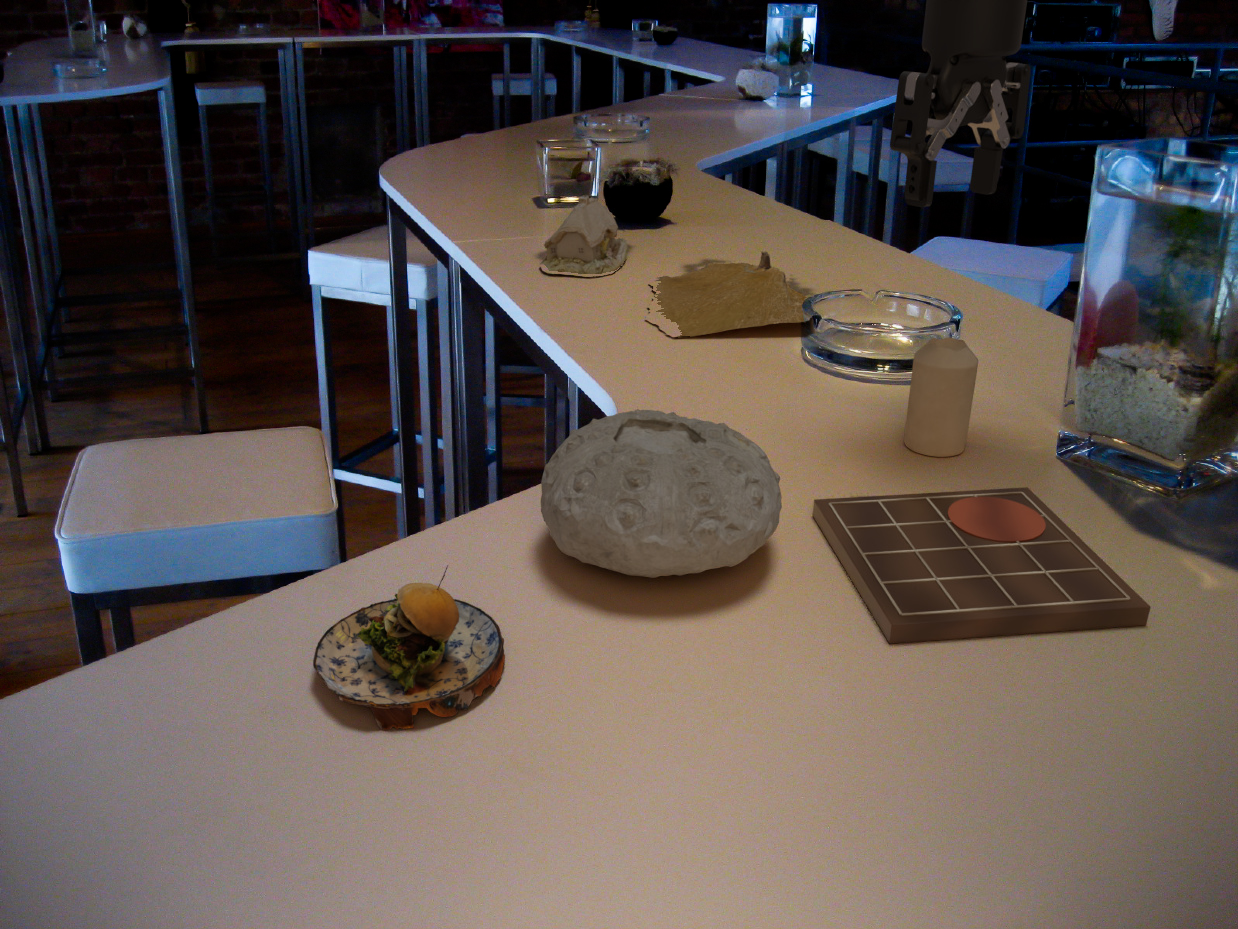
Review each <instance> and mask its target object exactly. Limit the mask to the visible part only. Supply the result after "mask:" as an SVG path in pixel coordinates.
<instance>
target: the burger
mask: <svg viewBox="0 0 1238 929" xmlns="http://www.w3.org/2000/svg"><path fill="white" fill-rule="evenodd" d="M448 568H449V565H446V567H445V571H444V572H443V575H442V577H441V579H440V582H439V583H438V585H436V584H433V583H428V582H409V583H406V584H405V585H403V586H401V588H399V589H397V593H395V594H394V597H395V598H391V599H389V600H382V601H379V602H374V603H371V604H370V605H369V606H366V607H365V606H364V607H361V608H359V609H358V610H355V611H354V612H352V613H350V614H349V615H347V616H345V617H343V618H340V620H338V621H337V622H336V623H334V624H333V625H332V626H330V627H329V628H328V629H327V630H326V631H325V632H324V634H323V635H322V636H321V638H320V639H319V641H318V642H317V646H316V647H315V650H314V654H313V655H314V656H313V661H312V666H313V668H314V670H315V671H316V672H317V674H318V675H319V676H320V678H321V679H322V681H323V683H324V684H325V686H326V688H327V689H328V690H329V691H331V692H333V693H334V694H335V695H336V696H338V697H339V701H343V702H345V703H348V704H350V705H351V704H352V705H359V706H363V707H368V708H369V709H370V710H371V711H372V714H373V718H374V720H375V722H376V723H377V725H378V727H379V729H381V730H382V731H388V730H391V729H392V728H395V729H396V730H399V729H402V730H404V729H407V730H408V729H413V728H414V715H417V713H418V712H419V709H427V710H428V711H429V712H430V713H431V714H433V715H435V716H438V717H442V718H447V717H453V716H456V715H457V714H458V711H459V710H468V708H469V707H470V705H471V703H472V701H473V700H474V699H476V698H477V697H481V696H482V694H483V692H484V690H485V689H487V688H489V686H490V687H492V688H495V687H496V686H497V683H498V681H499V680H500V679H501V678H502V674H503V669H504V666H505V665H506V664H505V663H506V654H505V649H504V644H505V639H504V638H505V637H503V636H502V631H501V627H500V626H499V624H498V623H497V622H496V621H495V619H493V617H492V616H491V615H489V614H488V613H486V611H484V610H483V609H481V608H480V607H478V606H475V605H473V604H472V603H469V602H466V601H464V600H460V599H456V598H454V597H453V596H452V595H451V594H450V593H449V592H448V591H446V590H445V589H444V588H442V587H441V585H442V584H441V583H442V582H443V580H444V578H445V576H446V573H447V569H448Z"/></svg>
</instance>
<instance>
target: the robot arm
mask: <svg viewBox="0 0 1238 929" xmlns="http://www.w3.org/2000/svg"><path fill="white" fill-rule="evenodd" d="M1027 5H1028V0H926V1H925V11H924V21H923V29H922V40H921V48H922V51H924V52H925V53H926V54H929V56H930V63H929V67H928V70H927V71H926V73H925V72H915V71H907V70H905V71H902V72H901V73H900V74H899V78H898V83H897V89H896V98H895V105H894V111H893V119H892V126H891V132H890V133H891V134H890V139H889V148H890V150H891V151H894V152H898V153H901V154H903V155H904V156H905V157H906V161H907V163H906V172H905V173H906V174H905V182H904V190H903V192H904V201H905V203H906V204H907V205H909V206H913V207H918V208H926V207H927V208H928V207H930V206H931V205H932V204H933V198H934V189H935V182H936V174H937V166H938V165H937V164H938V160H936V158H937V156H938V154H939V153H940V151H941V149H942V147H943V145H944V144H945V142H946V140H947V139H949V138H952V137H953V136H954V135H955V134H956V132H957V131H958V129H959V128H960V127H966V126H969V127H970V128H971V129H972V132H973V135H974V138H975V140H976V143H977V145H978V146H976V147H974V153H973V160H972V166H971V175H970V182H969V189H970V191H971V192H972V193H975V194H980V195H986V196H988V195H993V194H995V193H996V192H997V188H998V182H999V180H1000V172H1001V164H1002V158H1003V153H1004V152H1003V151H1004V149H1006V148H1008V146H1009V144H1010V142H1011V140H1013V139H1017V140H1018V139H1020V138H1022V136H1023V135H1024V131H1025V122H1026V114H1027V106H1028V98H1029V97H1028V96H1029V88H1030V80H1031V79H1030V78H1031V71H1032V70H1031V65H1030V64H1028V63H1027V64H1026V63H1020V62H1007V56H1012V55H1015V54H1017V53H1018V52H1019V51H1020V50H1021V47H1022V41H1023V40H1022V39H1023V32H1024V27H1025V26H1024V25H1025V20H1026V19H1025V18H1026V12H1027ZM1007 109H1011V110H1012V113H1011V122H1009V121H1008V120H1009V114H1008V111H1007ZM933 116H934V117H935V118H933ZM909 121H911V123H912V126H911V134H910V136H906V134H907V127H908V122H909ZM929 135H930V138H929V139H928V142H926V137H928V136H929Z"/></svg>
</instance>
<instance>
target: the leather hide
mask: <svg viewBox="0 0 1238 929" xmlns="http://www.w3.org/2000/svg"><path fill="white" fill-rule="evenodd" d="M760 253H761V256H760V260H759V264H758V265H756V264H751V263H749V262H739V263H737V262H729V263H718V262H715V263H714V262H712V261H711V262H709V263H706V264H705V266H704V267H701V268H700V269H698V270H692V271H690V272H686V273H682V274H681V275H678V276H669V275H663V276H660V277H657V279H656V280H655V281H661V283H658V284H659V285H657V287H656V288H657V290H656V291H660V292H661V293H659V294H656V295H658V296H657V297H655V298H657V299H658V300H657V301H661V302H658V303H657V304H658V305H661V308H664V309H661V310H658V311H656V312H664V313H662V314H661V315H666V316H664V317H666V319H670V320H671V322H676V323H677V325H679V327H678V329H679V330H681V331H680V332H682V333H681V334H682V335H680V336H690V337H697V336H703V335H709V334H715V333H721V332H726V331H731V330H737V329H738V330H739V329H745V328H754V327H763V326H767V325H775V324H776V325H777V324H787V323H790V324H791V323H792V324H793V323H794V324H795V323H797V324H799V323H805V322H804V318H803V311H802V304H803V302H804V299H805V298H808V297H807V296H805V295H803V293H802V292H800V291H796V290H795V289H793V288H792V287H791V286H790V285H789V283H788V282H787V279H786V273H785V272H784V271H783V270H780V268H779V267H775V266H772V264H771V258H770V254H769V252H768V251H760ZM802 295H803V296H802Z"/></svg>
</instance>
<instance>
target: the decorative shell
mask: <svg viewBox="0 0 1238 929" xmlns="http://www.w3.org/2000/svg"><path fill="white" fill-rule="evenodd" d="M780 481H781V476H780V474H779V473H777V472H776V471H775V470H774V468H773V467H772V464H771V461H770V459H769V457H768V456H767V454H766V452H765V451H764V450H763V449H762V448H761V447H760V446H759V445H758V444H757V443H756V442H754V441H753V440H751V439H749V438H748V437H746V436H745V435H744V434H743V433H741V432H740V431H738V430H736V429H733V428H730V427H729V425H728V424H726V423H725V422H719V423H715V422H712V421H710V420H702V419H699V418H694V417H693V418H688V417H687V416H680V415H678V414H677V413H676V412H675V411H671V412H668V413H665V412H664V411H662V410H653V409H638V408H637V409H634V410H630V411H624V412H619V413H615V414H612V415H607V416H605V417H603V418H599V419H597V418H592V420H591V421H590V422H589V423H588V424H586V425H584V426H582V427H580V428H578V429H574V428H573V429H571V430H570V432H569V436H567V438H566V439H565V440H564V441H563V442H561V445H559V447H557V449H556V451H554V453H553V454H552V456H551V457H550V459H549V461H548V463H546V464H545V466H544V470H543V473H542V478H541V482H540V486H541V497H540V512H541V516H542V518H543V521H544V522H545V524H546V527H547V528H548V530H549V536H550V538H551V539H552V540H553V541H554V543H555V545H556V547H557V548H558V549H559V551H560V552H561V553H563V554H564V555H565V556H569V557H572V558H575V559H577V560H578V561H580V562H581V563H583V564H589V565H593V566H597V567H599V568H603V569H607V570H609V571H614V572H617V573H621V574H624V575H627V576H635V577H646V578H650V579H655V578H658V577H669V576H672V575H674V576H675V575H676V576H679V577H680V576H685V575H687V574H701V573H702V572H704V571H707V570H711V569H713V570H715V569H719V568H723V567H735V566H737V565H739V564H740V563H742V562H744V561H745V560H747V559H748V558H749V557H750V556H751V555H752V554H754V553H755V552H757V550H759V549H760V548H761V547H764V546H765V545H766V542H767V540H768V539H769V538H770V537H771V536H773V535H774V533H775V532H776V530H777V528H778V526H779V523H780V515H781V511H782V509H783V508H782V507H783V506H782V493H781V492H782V491H781V488H780V484H779V483H780Z"/></svg>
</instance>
